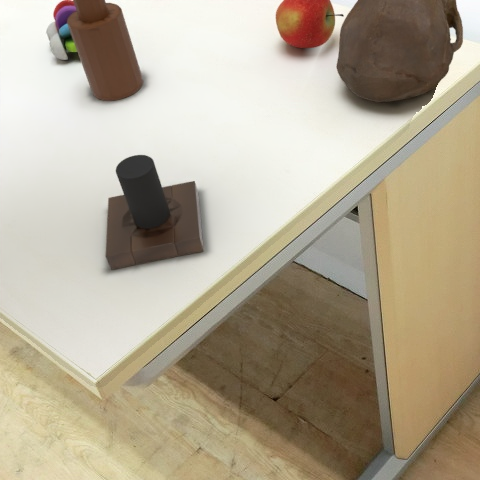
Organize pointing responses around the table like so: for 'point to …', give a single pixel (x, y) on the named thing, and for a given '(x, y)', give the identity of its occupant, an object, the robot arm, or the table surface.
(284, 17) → the apple
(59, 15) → the rainbow disc toy
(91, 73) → the bottle
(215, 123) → the table surface
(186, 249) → the dark brown square mat
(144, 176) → the cylinder
